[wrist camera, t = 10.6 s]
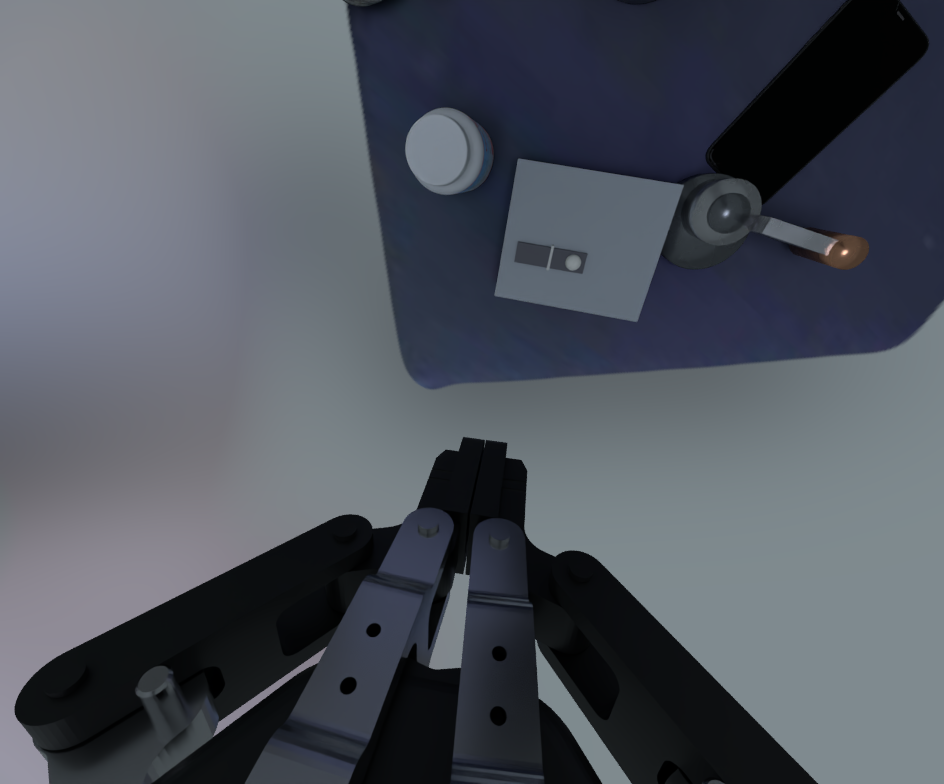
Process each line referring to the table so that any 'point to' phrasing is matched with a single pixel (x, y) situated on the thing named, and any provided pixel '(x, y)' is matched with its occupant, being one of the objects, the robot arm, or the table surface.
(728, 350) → the table surface
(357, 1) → the mug
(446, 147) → the pill bottle
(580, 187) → the slide switch panel
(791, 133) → the smartphone
